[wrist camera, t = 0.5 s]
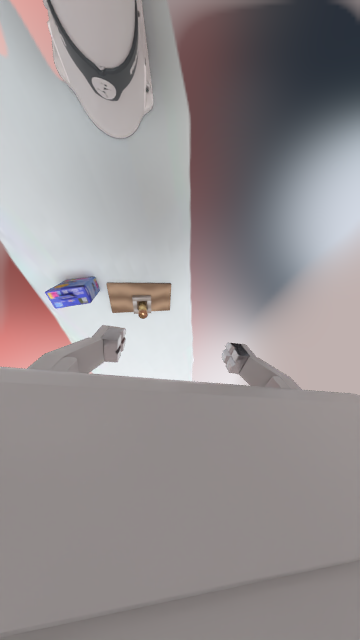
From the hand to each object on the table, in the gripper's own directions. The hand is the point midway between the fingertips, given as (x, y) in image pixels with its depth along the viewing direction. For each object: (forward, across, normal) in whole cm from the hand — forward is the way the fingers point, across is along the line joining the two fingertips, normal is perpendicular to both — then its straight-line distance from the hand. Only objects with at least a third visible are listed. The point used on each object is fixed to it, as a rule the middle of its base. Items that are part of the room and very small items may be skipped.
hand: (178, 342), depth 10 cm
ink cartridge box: (+42, +30, +11) cm, 53 cm away
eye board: (+46, +10, +13) cm, 49 cm away
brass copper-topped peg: (+45, +9, +15) cm, 48 cm away
